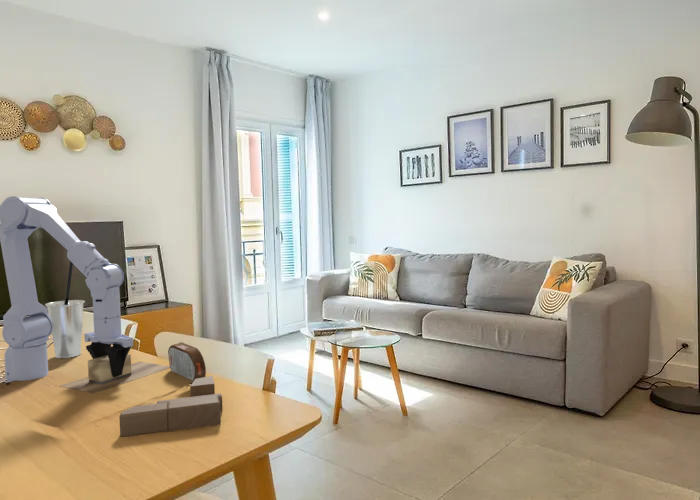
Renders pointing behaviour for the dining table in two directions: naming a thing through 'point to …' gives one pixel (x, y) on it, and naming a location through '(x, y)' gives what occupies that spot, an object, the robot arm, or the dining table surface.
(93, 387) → the plank
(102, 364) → the block
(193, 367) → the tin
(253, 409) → the dining table surface
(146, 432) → the wooden block set
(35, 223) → the robot arm
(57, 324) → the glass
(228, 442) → the dining table surface
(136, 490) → the dining table surface
